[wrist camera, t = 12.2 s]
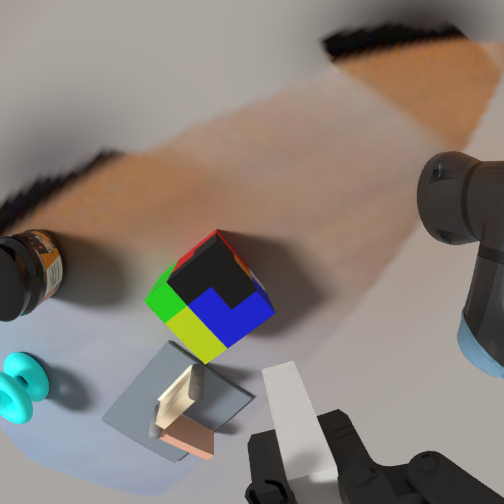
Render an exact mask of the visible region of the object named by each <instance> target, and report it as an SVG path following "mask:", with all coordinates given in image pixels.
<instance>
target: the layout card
mask: <svg viewBox="0 0 504 504" xmlns="http://www.w3.org/2000/svg"><path fill="white" fill-rule="evenodd" d="M194 364H201V363H200V362H198V361H197V360H196V359H194V358H193V357H191V356H190V355H188V354H187V353H186V352H184V351H183V350H181V349H180V348H179V347H177V346H176V345H174V344H173V343H172V342H170V341H168V342H167V343H166V344H165V345H164V347H163V348H162V349H161V350H160V351H159V352H158V354H157V355H156V356H155V357H154V358H153V359H152V360H151V362H150V363H149V364H148V365H147V366H146V367H145V368H144V370H143V371H142V372H141V373H140V374H139V375H138V377H137V378H136V379H135V380H134V381H133V382H132V383H131V385H130V386H129V387H128V388H127V389H126V390H125V392H124V393H123V394H122V395H121V396H120V397H119V398H118V400H117V401H116V402H115V403H114V404H113V405H112V407H111V408H110V409H109V410H108V411H107V412H106V413H105V415H104V416H103V417H102V419H101V420H102V421H104V422H105V423H107V424H108V425H110V426H111V427H113V428H114V429H116V430H117V431H119V432H121V433H122V434H124V435H125V436H127V437H129V438H130V439H132V440H134V441H135V442H137V443H139V444H140V445H142V446H144V447H146V448H147V449H149V450H151V451H153V452H155V453H157V454H158V455H160V456H162V457H164V458H166V459H168V460H170V461H172V462H174V463H175V462H177V461H178V460H179V459H181V458H182V457H183V456H184V455H186V454H187V453H188V452H187V451H185V450H182V449H180V448H178V447H176V446H174V445H171V444H169V443H167V442H165V441H163V440H161V439H152V438H150V437H149V435H148V433H149V429H150V425H151V421H152V417H153V413H154V409H155V406H156V405H158V404H160V402H161V400H162V399H163V398H164V397H165V396H166V395H167V394H168V393H169V392H170V391H171V390H172V389H173V387H174V386H175V385H176V384H177V383H178V382H179V381H180V380H181V379H182V378H183V377H184V376H185V375H186V374H187V373H188V372H189V371H190V370H191V368H192V366H193V365H194ZM202 365H203V364H202ZM203 366H204V365H203ZM204 368H205V375H204V393H203V398H202V399H201V400H199V401H195V402H193V403H192V404H191V405H190V406H189V407H188V408H187V409H186V410H185V411H184V412H183V413H182V414H181V416H183V417H185V418H188V419H190V420H192V421H194V422H196V423H198V424H200V425H202V426H204V427H206V428H209V429H211V430H213V431H215V430H217V429H218V428H219V427H220V426H221V425H222V424H224V423H225V422H226V421H227V420H228V419H230V418H231V417H232V416H233V415H234V414H235V413H236V412H238V411H239V410H240V409H241V408H242V407H243V406H244V405H245V404H247V403H248V402H249V401H250V400H251V399H252V397H251V395H249V394H248V393H246V392H244V391H243V390H241V389H239V388H238V387H236V386H235V385H233V384H232V383H230V382H228V381H227V380H225V379H224V378H222V377H221V376H219V375H218V374H216V373H215V372H213V371H212V370H210V369H209V368H207V367H206V366H204Z"/></svg>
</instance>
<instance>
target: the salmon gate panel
mask: <svg viewBox="0 0 504 504" xmlns="http://www.w3.org/2000/svg"><path fill="white" fill-rule="evenodd" d="M159 406H160V404H158V405H156V406H155V409H154V413H153V417H152V421H151V425H150V429H149V433H148V435H149V437H150V438H152V439H161V440H163V441H165V442H167V443H169V444H171V445H174V446H176V447H178V448H180V449H182V450H185V451H187V452H189V453H192V454H194V455H196V456H199V457H201V458H204V459H206V460H209V459H210V458H212V457H213V456H214V431H213V430H211V429H209V428H206V427H204V426H202V425H200V424H198V423H196V422H194V421H192V420H190V419H188V418H185V417H183V416H181V415H180V416H179V417H177V418H176V419H175V420H174V421H173V422H172V423H171V424H170V425H169V426H168V427H167V428H165V429H163V428H161V427H159V426H158V425H156V424H155V423H156V419H157V414H158V410H159Z"/></svg>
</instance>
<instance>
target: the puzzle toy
mask: <svg viewBox="0 0 504 504" xmlns="http://www.w3.org/2000/svg"><path fill="white" fill-rule="evenodd" d="M144 301H145V302H146V304H147V305H148V306H149V307H150V308H151V309H152V310H153V311H154V312H155V313H156V315H157V316H158V317H159V318H160V319H161V320H162V321H163V322H164V323H165V324H166V325H167V326H168V327H169V328H170V329H171V330H172V332H173V333H174V334H175V335H176V336H177V337H178V338H179V339H180V340H181V341H182V342H183V343H184V344H185V345H186V346H187V347H188V348H189V349H190V350H191V351H192V352H193V353H194V354H195V355H196V356H197V357H198V358H199V359H200V360H201V361H202V362H203V363H204V364H207V363H208V362H209V361H211V360H212V359H214V358H215V357H216V356H218V355H219V354H221V353H222V352H223V351H225V350H226V349H228V348H229V347H230V346H232V345H233V344H235V343H236V342H237V341H239V340H240V339H241V338H243V337H244V336H246V335H247V334H248V333H250V332H251V331H252V330H254V329H255V328H256V327H258V326H259V325H260V324H262V323H263V322H264V321H266V320H267V319H268V318H270V317H271V316H272V315H274V314H275V311H274V309H273V307H272V304H271V302H270V300H269V297H268V295H267V293H266V291H265V288H264V286H263V285H262V283H261V282H260V281H259V280H258V279H257V277H256V276H255V275H254V274H253V273H252V271H251V270H250V269H249V268H248V267H247V265H246V264H245V263H244V262H243V260H242V259H241V258H240V257H239V256H238V254H237V253H236V252H235V251H234V250H233V248H232V247H231V246H230V245H229V243H228V242H227V241H226V240H225V239H224V237H223V236H222V235H221V234H220V232H219V231H218V230H217V229H216V230H215V231H214V232H213V233H211V234H210V235H209V236H208V237H206V238H205V239H204V240H203V241H201V242H200V243H199V244H198V245H197V246H195V247H194V248H193V249H192V250H191V251H189V252H188V253H187V254H186V255H184V256H183V257H182V258H181V259H180V260H178V261H177V262H176V263H175V264H174V265H172V266H171V267H170V268H169V269H168V270H167V271H165V272H164V273H163V274H162V275H161V276H160V277H159V279H158V280H157V282H156V283H155V285H154V286H153V288H152V289H151V291H150V292H149V294H148V295H147V297H146V299H145V300H144Z"/></svg>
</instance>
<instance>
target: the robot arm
mask: <svg viewBox="0 0 504 504" xmlns="http://www.w3.org/2000/svg"><path fill="white" fill-rule="evenodd" d="M417 204H418V210H419V214H420V218H421V220H422V223H423V225H424V227H425V228H426V230H427V231H428V232H429V234H430V235H431V236H432V237H433V238H435V239H436V240H438V241H440V242H443V243H447V244H450V245H462V244H466V243H471V242H476V241H480V245H479V250H478V255H477V260H476V264H475V269H474V273H473V278H472V282H471V286H470V290H469V293H468V297H467V300H466V304H465V307H464V308H463V310H462V318H461V323H460V326H459V330H458V334H457V341H458V344H459V347H460V349H461V351H462V353H463V354H464V356H465V357H466V358H467V359H468V360H469V361H470V362H471V363H472V364H473V365H475V366H476V367H477V368H479V369H480V370H482V371H483V372H485V373H487V374H489V375H491V376H493V377H501V378H502V379H504V161H480V160H478V159H476V158H473V157H471V156H469V155H467V154H464V153H461V152H456V151H451V152H442V153H439V154H437V155H435V156H434V157H432V158H431V159H430V160H429V161H428V163H427V164H426V165H425V167H424V169H423V171H422V173H421V176H420V179H419V183H418V189H417ZM262 373H263V378H264V382H265V387H266V391H267V395H268V400H269V404H270V409H271V413H272V417H273V422H274V425H275V429H274V430H269V431H265V432H261V433H258V434H253V435H251V437H250V440H249V442H248V453H249V462H250V470H251V477H252V483H251V484H250V485H249V486H248V488H247V489H246V492H245V498H246V500H247V501H248V503H249V504H342V503H343V504H504V498H503V497H502V496H500V495H499V494H497V493H496V492H494V491H493V490H492V489H490V488H489V487H487V486H485V485H484V484H483V483H481V482H480V481H478V480H477V479H476V478H474V477H473V476H471V475H470V474H469V473H467V472H466V471H464V470H463V469H461V468H460V467H459V466H457V465H456V464H455V463H453V462H452V461H451V460H449V459H448V458H446V457H445V456H444V455H442V454H440V453H438V452H436V451H426V452H422V453H419V454H418V455H416V456H414V458H412V459H411V460H410V462H409V463H408V464H403V465H397V466H382V465H379V464H377V463H375V462H374V461H373V460H372V459H371V457H370V456H369V454H368V452H367V450H366V449H365V447H364V445H363V443H362V441H361V439H360V437H359V435H358V433H357V432H356V430H355V428H354V426H353V425H352V422H351V420H350V419H349V417H348V415H347V414H345V413H344V412H342V411H340V410H339V409H337V410H334V411H331V412H328V413H325V414H322V415H319V416H316V415H315V412H314V410H313V407H312V405H311V402H310V400H309V397H308V395H307V393H306V390H305V388H304V385H303V383H302V380H301V378H300V376H299V373H298V371H297V368H296V366H295V363H294V361H290V362H287V363H283V364H280V365H276V366H273V367H269V368H266V369H262Z"/></svg>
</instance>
